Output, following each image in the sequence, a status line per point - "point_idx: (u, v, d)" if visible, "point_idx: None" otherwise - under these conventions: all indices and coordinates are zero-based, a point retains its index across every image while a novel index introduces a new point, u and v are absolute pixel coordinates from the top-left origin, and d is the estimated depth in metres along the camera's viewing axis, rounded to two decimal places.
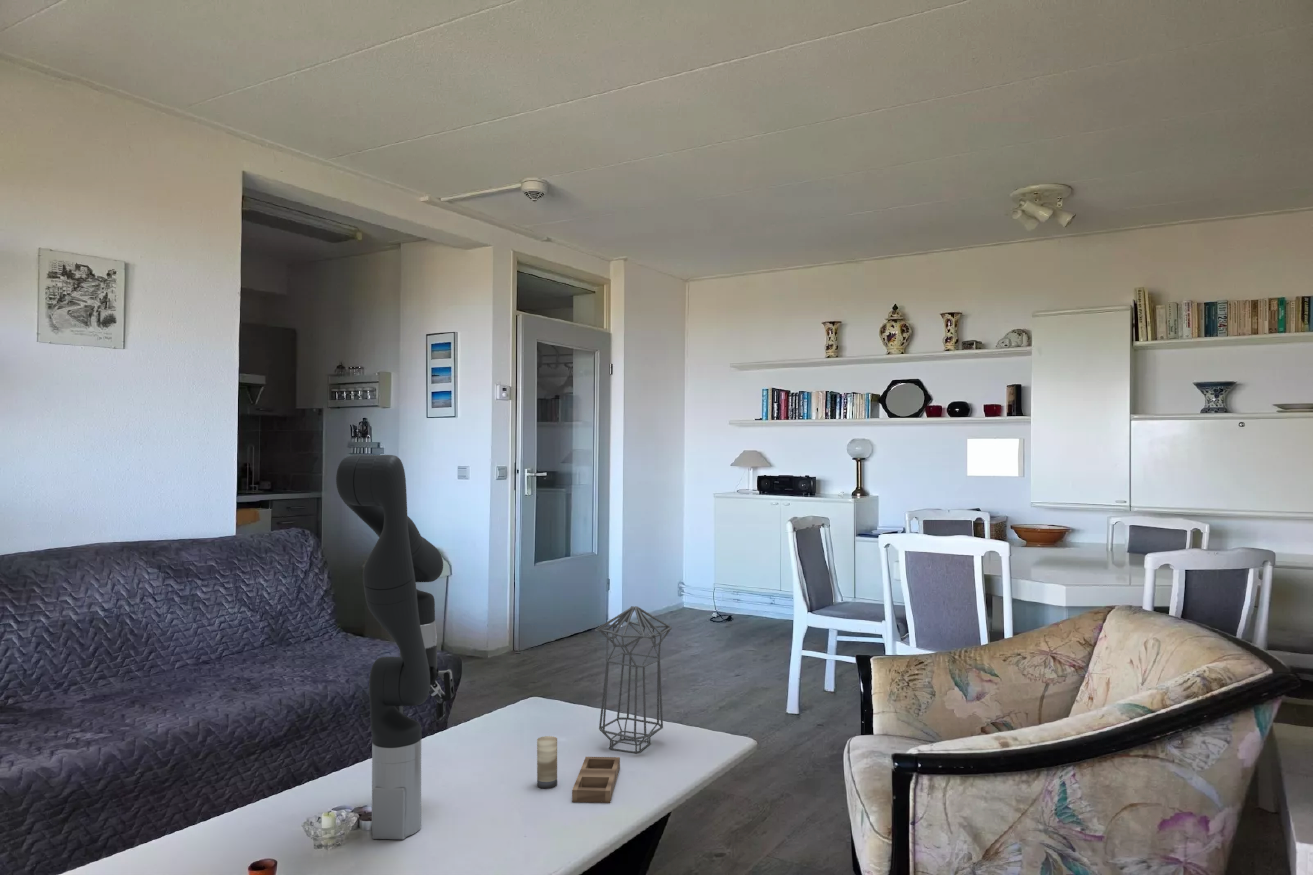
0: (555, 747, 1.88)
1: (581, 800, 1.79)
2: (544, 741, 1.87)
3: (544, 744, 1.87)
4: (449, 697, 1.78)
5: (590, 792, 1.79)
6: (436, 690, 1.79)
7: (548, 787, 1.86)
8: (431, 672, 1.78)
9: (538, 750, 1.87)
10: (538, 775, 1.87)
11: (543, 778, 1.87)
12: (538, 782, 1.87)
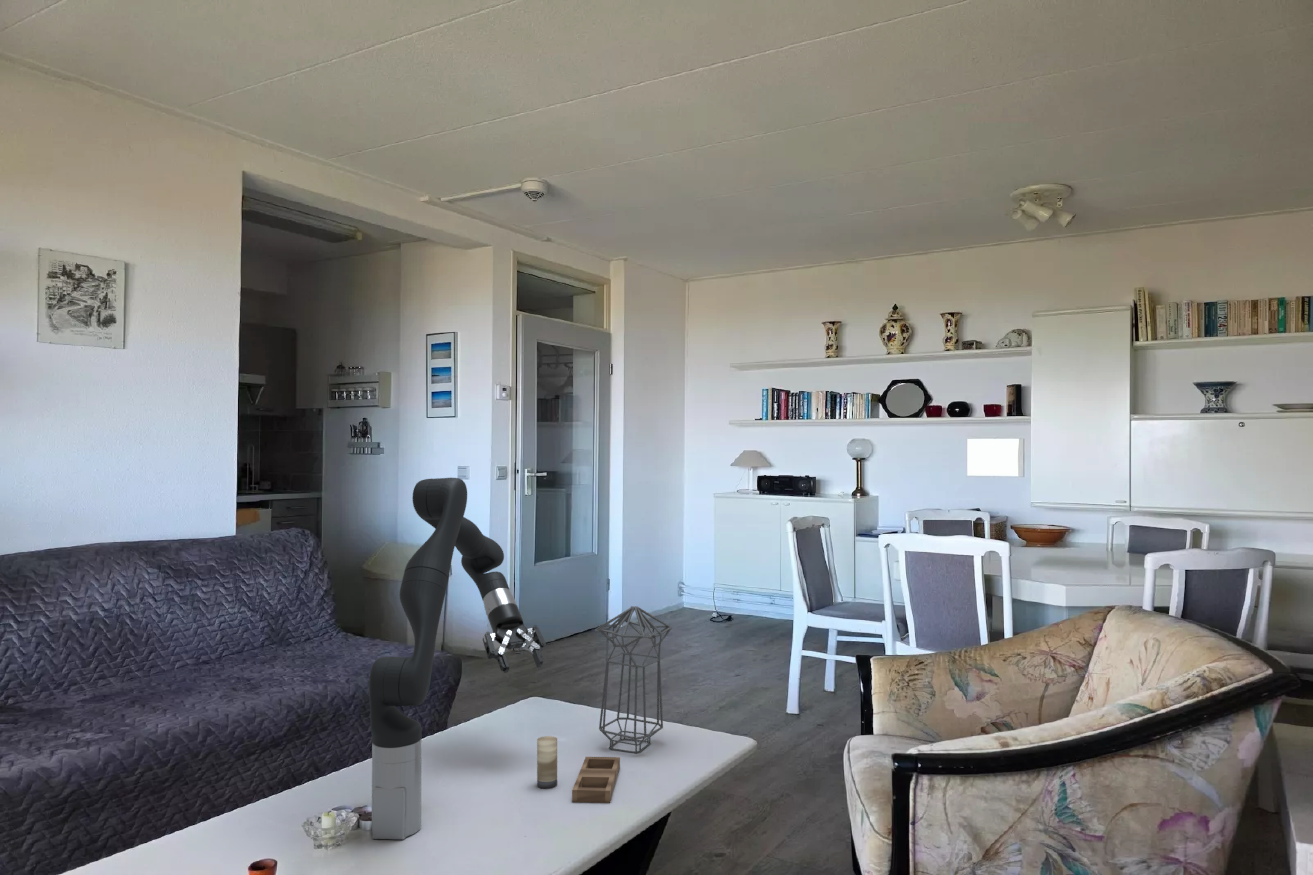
0: (555, 747, 1.88)
1: (581, 800, 1.79)
2: (544, 741, 1.87)
3: (544, 744, 1.87)
4: (544, 643, 2.05)
5: (590, 792, 1.79)
6: None
7: (548, 787, 1.86)
8: (523, 627, 2.06)
9: (538, 750, 1.87)
10: (538, 775, 1.87)
11: (543, 778, 1.87)
12: (538, 782, 1.87)
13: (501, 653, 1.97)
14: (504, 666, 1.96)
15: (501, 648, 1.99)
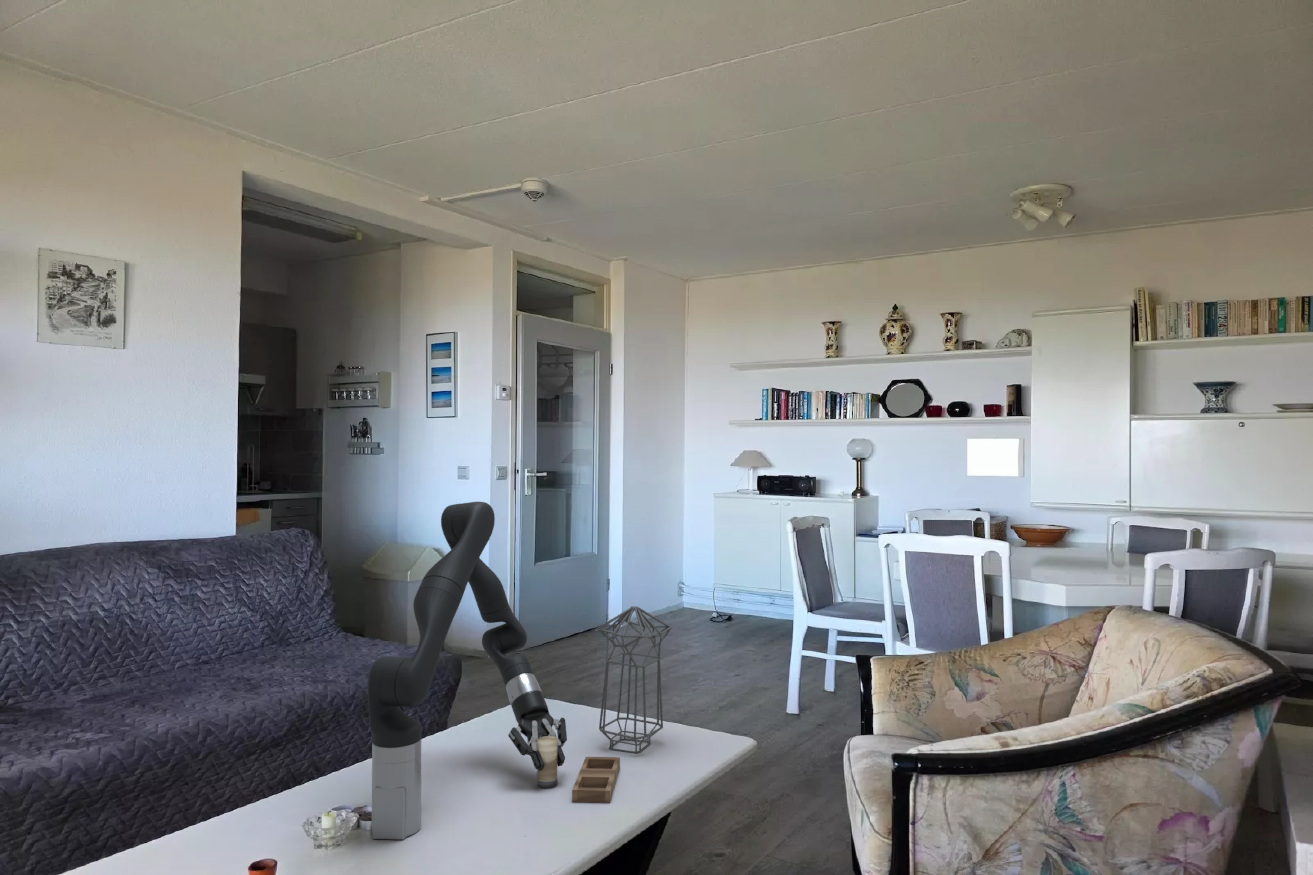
0: (555, 747, 1.88)
1: (581, 800, 1.79)
2: (544, 741, 1.87)
3: (544, 743, 1.87)
4: (565, 738, 1.92)
5: (590, 792, 1.79)
6: None
7: (549, 787, 1.87)
8: (549, 716, 1.95)
9: (538, 750, 1.87)
10: (538, 775, 1.87)
11: (543, 778, 1.87)
12: (538, 782, 1.87)
13: (535, 749, 1.87)
14: (539, 764, 1.85)
15: (533, 743, 1.88)
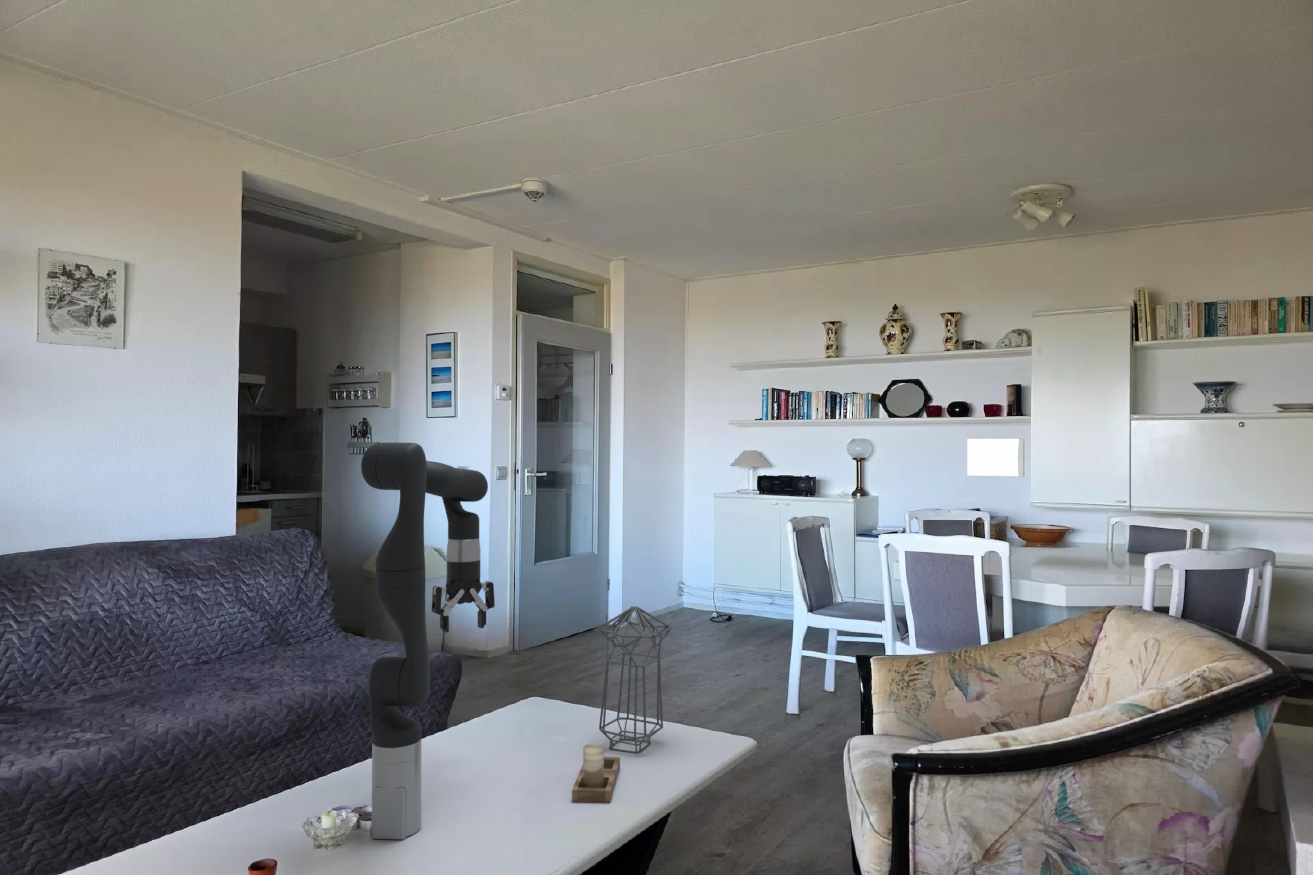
0: (602, 755, 1.83)
1: (581, 800, 1.79)
2: (591, 749, 1.82)
3: (591, 752, 1.81)
4: (493, 605, 1.98)
5: (590, 792, 1.79)
6: None
7: None
8: (478, 583, 1.96)
9: (584, 758, 1.82)
10: (584, 784, 1.82)
11: (590, 787, 1.81)
12: None
13: (445, 614, 1.91)
14: (444, 628, 1.91)
15: (447, 608, 1.91)
